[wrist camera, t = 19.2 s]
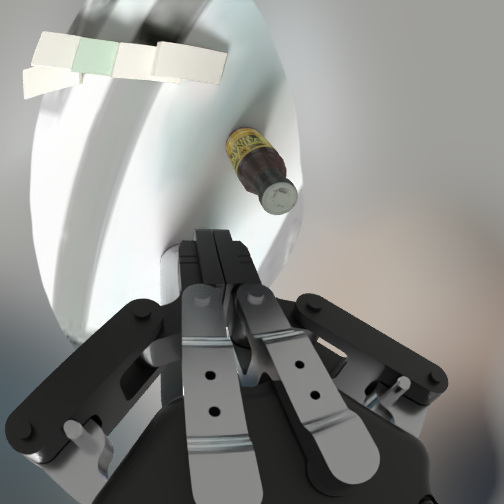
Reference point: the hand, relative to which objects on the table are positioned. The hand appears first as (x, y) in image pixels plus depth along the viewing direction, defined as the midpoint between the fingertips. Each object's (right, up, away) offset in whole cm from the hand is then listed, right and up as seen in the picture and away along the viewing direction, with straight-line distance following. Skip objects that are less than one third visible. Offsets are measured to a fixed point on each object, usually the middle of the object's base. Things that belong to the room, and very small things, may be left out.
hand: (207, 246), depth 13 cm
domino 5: (-3, +26, +23) cm, 35 cm away
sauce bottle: (0, +17, +33) cm, 37 cm away
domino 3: (-14, +26, +20) cm, 36 cm away
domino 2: (-23, +26, +17) cm, 39 cm away
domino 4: (-8, +26, +22) cm, 35 cm away
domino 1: (-20, +27, +17) cm, 38 cm away
